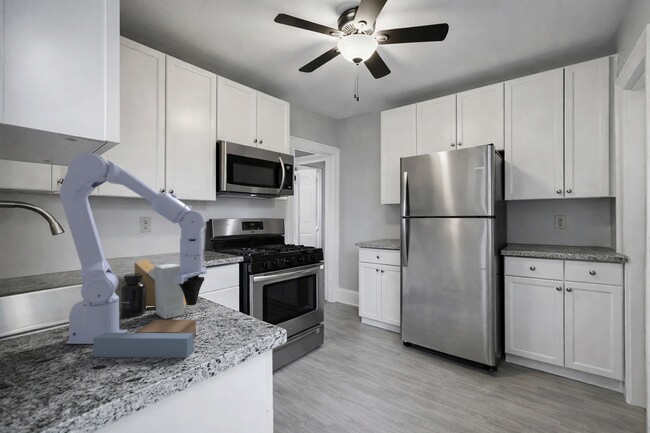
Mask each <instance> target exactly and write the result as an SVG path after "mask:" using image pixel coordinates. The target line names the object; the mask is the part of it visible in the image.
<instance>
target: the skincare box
mask: <svg viewBox="0 0 650 433" xmlns="http://www.w3.org/2000/svg"><path fill="white" fill-rule="evenodd" d="M153 266H154V275H155V298H156V308H155V314H156V315H158V316H159V317H161V318H162V319H163V320H168V319H170V318H176V317H181V316H184V315H185V306H184V294H183V291H182V289H181V287H180V286H179V284H174V276H176V275H177V274H178V273H179V272H180V264H175V263H168V264H166V263H165V264H159V265H153Z"/></svg>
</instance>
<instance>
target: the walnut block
mask: <svg viewBox="0 0 650 433" xmlns="http://www.w3.org/2000/svg"><path fill="white" fill-rule="evenodd" d="M196 322H197V320H196V319H154V320H152V321H151V322H149V323H148V324H146V325H144V326H142V327H141V328H139V329H137V330H135V331H134V332H133V333H194V339H196V338H197V323H196Z"/></svg>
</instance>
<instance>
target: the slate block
mask: <svg viewBox="0 0 650 433" xmlns="http://www.w3.org/2000/svg"><path fill="white" fill-rule="evenodd" d="M92 345H93V357H94V358H160V359H161V358H165V359H167V358H168V359H169V358H174V359H175V358H178V359H179V358H183V359H185V358H186V359H187V358H188V357H190V356H191V355H192V354H193V353H194V350H195V348H194V347H195V338H194V333H134V332H126V333H102V334H100V335H98V336H96V337H94V338H93V344H92Z"/></svg>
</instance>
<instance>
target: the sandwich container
mask: <svg viewBox="0 0 650 433" xmlns="http://www.w3.org/2000/svg"><path fill="white" fill-rule="evenodd" d="M154 266H155V265H153V264H152V263H151V262H150V261H149V260H148V259H147V258H145V259H141V260H138V261H135V262H134V273H141V274H143V280H142V282H144V283H145V284H146V306H155V307H156V298H155V275H154ZM186 306H187V304H186V301H185V297H184V307H186Z"/></svg>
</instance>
